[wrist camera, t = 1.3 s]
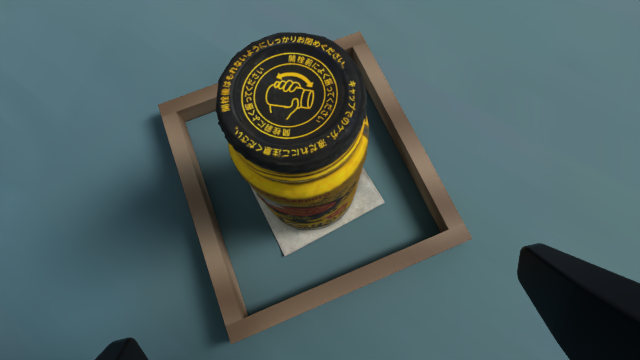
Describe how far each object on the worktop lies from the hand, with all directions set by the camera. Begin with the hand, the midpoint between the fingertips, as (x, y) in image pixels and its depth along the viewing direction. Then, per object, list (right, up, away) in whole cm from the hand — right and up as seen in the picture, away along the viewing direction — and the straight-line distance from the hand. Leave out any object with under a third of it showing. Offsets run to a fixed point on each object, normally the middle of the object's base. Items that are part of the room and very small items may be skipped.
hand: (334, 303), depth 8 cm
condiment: (-1, +3, +15) cm, 16 cm away
